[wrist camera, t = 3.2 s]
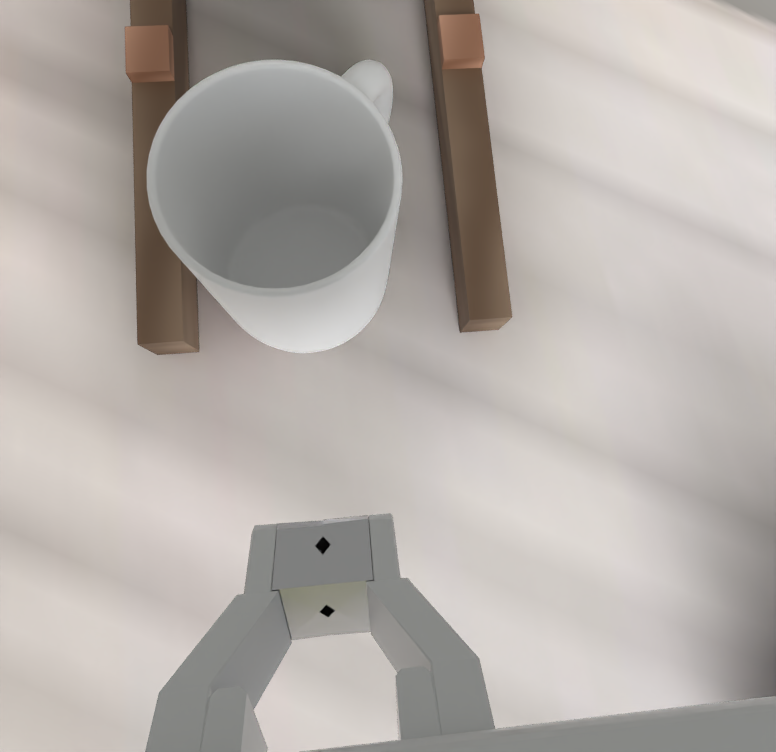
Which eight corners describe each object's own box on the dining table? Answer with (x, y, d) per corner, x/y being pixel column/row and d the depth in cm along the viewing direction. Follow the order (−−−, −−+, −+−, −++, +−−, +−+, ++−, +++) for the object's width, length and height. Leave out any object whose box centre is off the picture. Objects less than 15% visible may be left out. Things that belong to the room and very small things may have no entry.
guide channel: (157, 354, 27) (123, 337, 23) (147, -40, 30) (115, -115, 26) (498, 329, 28) (521, 308, 24) (453, -49, 31) (467, -122, 27)
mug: (315, 116, 29) (292, -66, 19) (450, 192, 29) (499, 48, 19) (191, 304, 28) (93, 214, 17) (334, 387, 27) (320, 344, 17)
